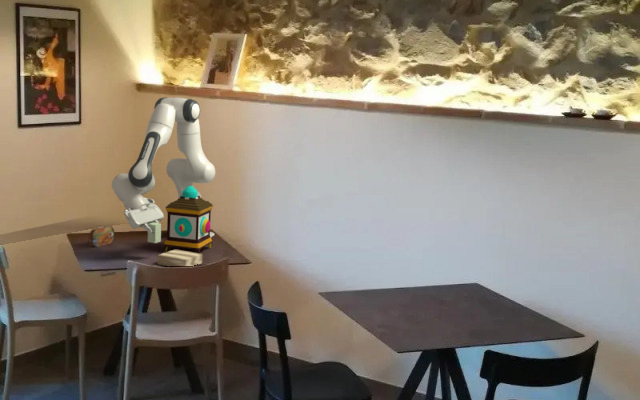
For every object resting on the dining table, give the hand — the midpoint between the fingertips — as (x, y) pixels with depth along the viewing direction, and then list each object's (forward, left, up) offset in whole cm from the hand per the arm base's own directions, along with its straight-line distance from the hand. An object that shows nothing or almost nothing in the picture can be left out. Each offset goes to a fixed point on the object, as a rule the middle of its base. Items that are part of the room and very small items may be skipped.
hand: (155, 231), depth 336 cm
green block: (0, -1, -5) cm, 5 cm away
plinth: (0, +13, -12) cm, 18 cm away
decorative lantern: (-23, +2, -12) cm, 26 cm away
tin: (-6, -34, -12) cm, 37 cm away
